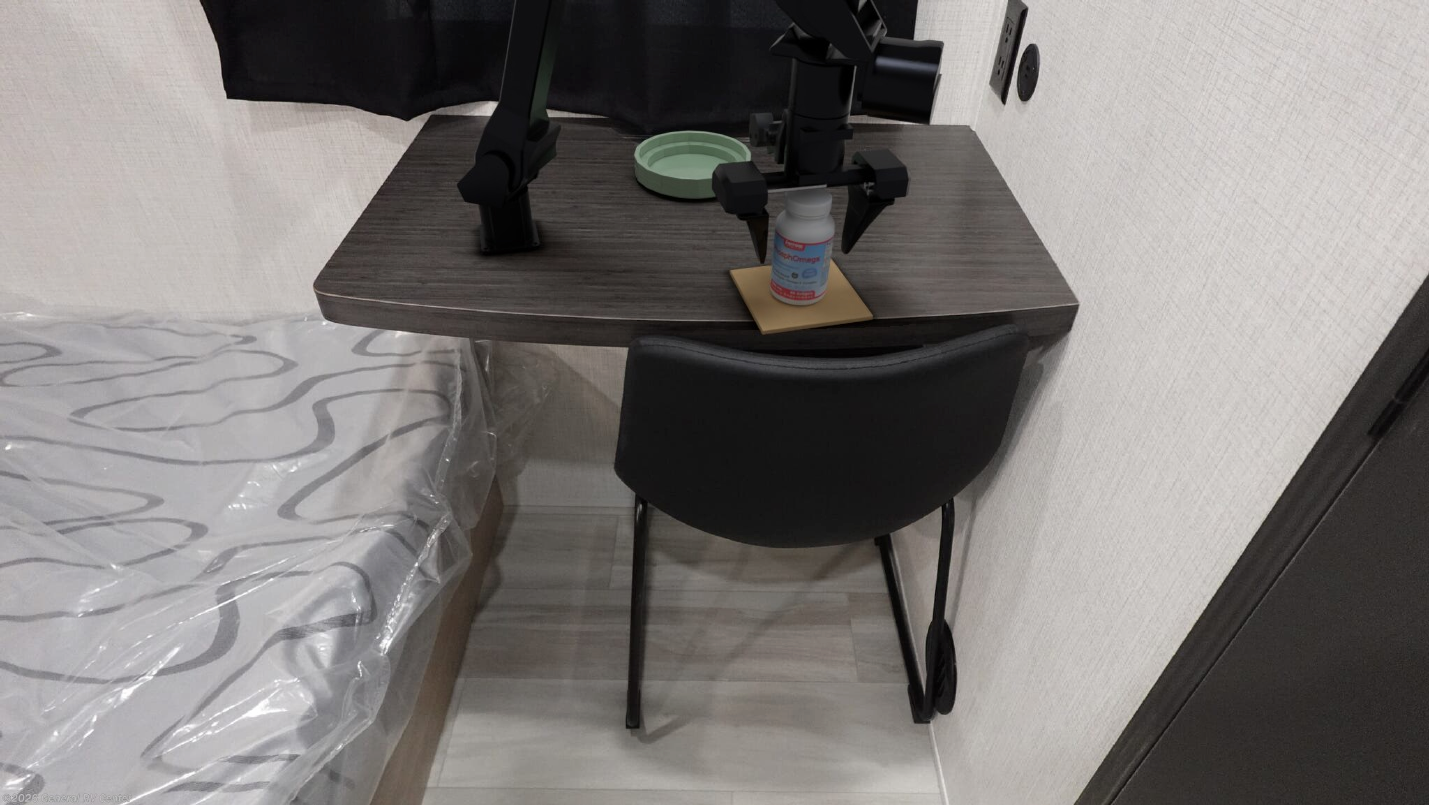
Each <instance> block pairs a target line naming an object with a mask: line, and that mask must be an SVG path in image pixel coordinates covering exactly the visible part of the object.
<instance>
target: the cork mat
mask: <svg viewBox="0 0 1429 805" xmlns="http://www.w3.org/2000/svg"><path fill="white" fill-rule="evenodd" d="M771 269H772V264H771V265H762V266H754V267H747V268H737V269H729V275H730V278H731V279H732V281H733V283H734V284H735V286H736V288H737V290H738V292H739V294H740V296H741V298H742V300H743V302H744V303H745V305H746V307H747V308H748V310H749V312H750V314H751V316H752V318H753V320H754V321H755V323H756V326H757V327H758V329H759V331H760V333H761V334H762V335H771V334H778V333H785V332H793V331H799V330H808V329H815V328H820V327H821V328H822V327H828V326H835V325H836V326H837V325H842V324H850V323H851V324H852V323H857V322H866V321H873V319H874V315H873V313H872V312H871V311H870V310H869V308H868V306H867V305H866V304H865V303H864V301H863V300H862V299H861V297H860V296H859V294H858V293H857V292H856V290H855V289H854V288H853V286H852V285H851V283H850V282H849V281H848V280H847V278H846V277H845V275H844V274H843V272H841V270H840V269H839V267H838V266H837V264H836V263H835V262H834V260H833V259H832V258H831V261H830V267H829V274H828V281H827V287H826V292H825V295H824V296H823V298H822V299H821V300H819V301H818V302H816V303H814V304H810V305H792V304H788V303H785V302H782V301H780V300H779V299H777V298H776V297H775V296H774V295H773V294H772V292H771V289H770V279H771Z"/></svg>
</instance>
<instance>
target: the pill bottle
mask: <svg viewBox="0 0 1429 805" xmlns="http://www.w3.org/2000/svg"><path fill="white" fill-rule="evenodd" d="M784 194H785V195H784V200H783V206H784V209H783V210H782V211H781V212H779V214H778V215H777V217H776V220H775V225H774V226H775V227H774V237H773V246H772V247H773V249H772V260H771V265H772V269H771V279H770V289H771V292H772V294H773V295H774V296H775V297H776V298H777V299H779V300H780V301H782V302H785V303H788V304H792V305H810V304H814V303H816V302H818V301H819V300H821V299H822V298H823V296H824V295H825V292H826V287H827V281H828V274H829V267H830V261H831V259H832V253H833V247H834V242H835V233H836V223H835V219H834V218H833V216H832V215H831V210H832V203H833V196H832V194H831V192H830V191H829V190H827V189H826V188H820V189H810V190H800V191H789V192H785V193H784Z"/></svg>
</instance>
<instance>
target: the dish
mask: <svg viewBox="0 0 1429 805" xmlns="http://www.w3.org/2000/svg"><path fill="white" fill-rule="evenodd" d="M633 158H634V160H633V162H634V163H633V164H634V175H635V177H636V179H637V181H638V183H640V184H641V185H642V186H644V187H645V188H646V189H648V190H651V191H653V192H656V193H658V194H661V195H666V196H669V197H673V198H678V199H690V200H697V199H699V200H700V199H710V198H717V197H716V195H715V194H714V192H713V190H712V173H713V171H714V170H715V168H716V167H717V166H718V164H720V163H731V162H742V161H752V160H751V159H752V152H751V151H750V149H749V148H748V146H747V145H746V144H745V143H742V142H741V141H739V140H738V139H736V138H735V137H734V138H733V137H730V136H728V135H724V134H722V133H721V134H720V133H716V132H710V131H703V130H702V131H701V130H679V131H671V132H665V133H661V134H656V135H654V136H651V137H649V138H647V139H645V140H643V141H642V142H640V143H639V144H638V145H637V147H636V148H635V151H634V154H633Z"/></svg>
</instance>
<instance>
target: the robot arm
mask: <svg viewBox="0 0 1429 805" xmlns="http://www.w3.org/2000/svg"><path fill="white" fill-rule="evenodd" d="M773 2H774V4H775V5H776V6H777V7H778V8H779V9H780V10H781V11H782V12H783V13H784V14H785V15H786V16H787V17H788V18H789V19H790V20H791V21H792V23H791V24H790V25H789V26H788V28H787V30H786V31H785V32H784V34H782V35H781V36H780V37H778V38H777V40H776V41H775V42H774V43H773V44H772V45H771V46H770V48H769V50H768V51H769V54H770V55H771V56H773V57H783V58H789V59H791V65H790V66H791V67H790V80H789V92H788V102H787V108H785V109H783V112H782V114H781V120H774V117H773V114H772V113H771V112H758V113H750V116H749V125H748V136H749V137H748V139H749V145H750V146H751V147H752V148H764V147H766V154H767V155H772V154H773V161H774V162H775V163H776V165H778V166H779V165H782V170H780V171H771V172H770V171H769V172H761V171H760V169H759V168H758V167H757V165H756V164H755V163H754V162H755V161H754V160H751V161H742V162H731V163H720V164H718V166H717V167H716V168H715V170H714V171H713V173H712V190H713V192H714V194H715V195H716V197H715V198H716V199H717V200H718V202H719V204H720V205H721V207H722V209H723V210H724V212H725V213H726V214H728V215H733V216H736V218H737V219H738V220H739V221H741V222H745V224H746V225H747V228H748V232H749V235H750V238H751V242H752V246H753V249H754V252H755V255H756V259H757V261H758V263H759V264H760V265H765V263H766V258H767V252H768V239H769V228H770V227H769V226H770V213H769V211H768V210H767V209H766V206H767V205H768V204H769V203H768V201H769V194H778V193H779V194H780V193H786V192H789V191H800V190H810V189H820V188H823V189H829V188H839V187H840V188H841V187H847V193H848V194H847V197H848V199H847V206H846V211H845V216H844V222H843V228H842V233H841V240H840V242H841V244H840V251H841V253H842V254H843V255H849V254H850V253H851V251H852V250H853V248H854V247H855V246H856V244H857V242H858V241H859V240H860V239H861V237H862V236H863V235H864V233H865V231H867V229H868V228H869V227H870V226H871V225H872V223H873V222H874V221H875V220H876V219H877V218H878V217H879V215H880V214H882V212H883V211H884V210H885V209H886V208H888V207H891V206H894V205H895V202H896V199H899V198H906V197H907V196H908V195H909V193H910V186H911V182H912V176H911V170H910V169H909V168H908V166H906V165H905V164H904V163H903V162H902V161H901V159H899V158H898V157H897V156H896V155H895V154H894V153H893V152H892V151H891V149H889V148H877V149H868V150H867V149H866V150H857V151H856V152H854V154H853V155H852V156H851V161H850V162H851V163H850V164H846V165H845V164H844V163H845V162H844V161H845V154H846V148H847V147H846V146H847V141H849V140H853V137H854V132H855V131H854V130H855V128H854V127H853V126H852V125H851V124H850V118H851V117H850V115H851V108H852V101H853V93H854V86H855V78H856V71H857V67H860V73H859V79H858V85H857V92H856V93H857V94H856V103H857V104H860V105H861V106H860V112H864V113H865V112H866V117H867V118H872V119H873V118H875V119H880V120H881V119H882V120H889V121H894V122H895V121H896V122H902V123H907V124H908V123H910V124H916V125H923V126H929V127H930V126H931V123H932V120H933V117H934V113H935V109H936V104H937V99H938V95H939V92H940V91H939V90H940V87H941V81H942V75H943V74H942V73H941V68H942V61H943V54H944V48H945V42H944V41H943V40H937V39H936V40H935V39H924V40H918V39H917V40H915V39H908V38H899V37H891V36H886V34H887V32H888V28H887V26H886V24H885V22H884V21H883V18H882V17H881V15H880V12H879V11H878V9H877V7H876V5H875V3H874V1H873V0H773ZM566 4H567V0H514V4H513V12H512V16H511V25H510V29H509V30H510V31H509V36H508V43H507V49H506V55H505V61H504V62H505V63H504V67H503V68H504V69H503V75H502V81H501V87H500V93H499V100H498V102H497V104H496V106H495V108H494V110H493V111H492V113H491V115H490V117H489V118H488V120H487V122H486V124H485V126H484V128H483V129H482V132H481V134H480V136H479V139H478V142H477V145H476V148H475V150H474V155H473V156H474V157H473V163H474V164H473V166H472V167H471V168H470V169H469V170H468V171H467V173H466V174H465V175H463V177H461V179H460V180H459V181H458V182H457V183H456V188H457V189H458V191H459V194H460V195H461V198H462V200H463V201H464V202H465V203H466V204H467V203H468V204H472V205H478V212H479V218H480V222H481V223H480V224H479V225H478V231H479V239H480V247H481V248H480V249H481V253H482V254H483V255H493V254H500V253H501V254H503V253H511V252H520V251H531V250H538V249H540V248H541V243H540V238H539V235H538V234H539V233H538V230H537V226H536V221H535V220H534V219H533V215H532V207H531V199H530V191H529V187H528V186H529V185H530V183H532V182H533V181H535V180H537V179H538V177H539V175H540V171H541V170H542V169H543V168H544V167H545V166H546V165H547V164H549V163H550V162H551V161H552V160H553V159H554V158H556V157H557V155H558V154H557V148H556V147H557V141H558V138H559V136H560V132H561V131H562V124H560V123H557V122H553V121H550V117H549V113H548V111H547V100H548V96H549V95H548V94H549V90H550V86H551V80H552V75H553V71H554V65H555V60H556V56H557V50H558V44H559V40H560V35H561V31H562V25H563V20H564V16H565V15H564V14H565V10H566Z"/></svg>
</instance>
